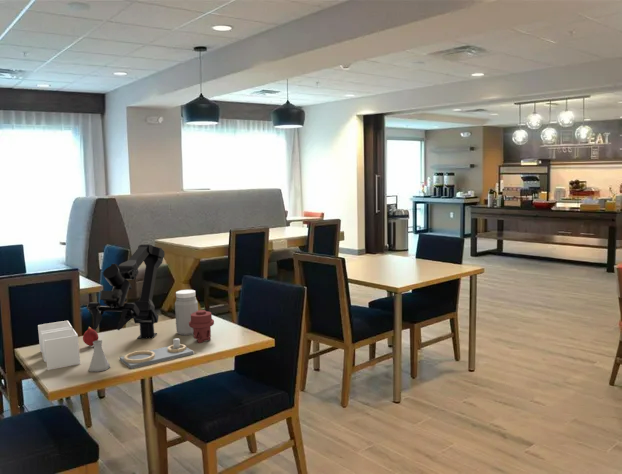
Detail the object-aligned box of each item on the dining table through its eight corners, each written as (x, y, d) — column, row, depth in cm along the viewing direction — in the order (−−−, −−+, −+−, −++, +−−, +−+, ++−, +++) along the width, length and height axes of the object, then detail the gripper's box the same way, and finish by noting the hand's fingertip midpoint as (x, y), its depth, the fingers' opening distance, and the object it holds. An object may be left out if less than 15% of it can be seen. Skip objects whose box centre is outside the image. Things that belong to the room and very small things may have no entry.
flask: (92, 365, 205) (90, 339, 203) (112, 364, 205) (110, 338, 204) (86, 373, 197) (83, 345, 196) (107, 371, 198) (105, 344, 197)
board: (130, 368, 200) (129, 354, 200) (119, 360, 210) (118, 346, 209) (193, 354, 214) (192, 340, 214) (180, 346, 224) (179, 333, 223)
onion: (102, 345, 229) (100, 325, 228) (91, 349, 224) (89, 329, 223) (91, 343, 231) (90, 324, 230) (80, 347, 226) (78, 328, 225)
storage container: (80, 364, 207) (77, 335, 206) (47, 370, 202) (44, 340, 200) (70, 346, 229) (67, 320, 227) (40, 352, 223) (37, 325, 222)
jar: (196, 335, 238) (194, 293, 236) (173, 336, 239) (171, 294, 236) (201, 329, 248) (199, 288, 246) (179, 329, 248) (177, 289, 246)
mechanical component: (218, 337, 235) (209, 344, 225) (195, 336, 237) (186, 343, 227) (216, 308, 233) (207, 314, 224) (194, 307, 235) (184, 314, 226)
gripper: (87, 281, 211) (72, 317, 201) (134, 281, 208) (121, 318, 198) (99, 297, 220) (86, 333, 210) (145, 297, 216) (133, 334, 207)
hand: (106, 329), depth 206 cm, fingers open, 9 cm apart
